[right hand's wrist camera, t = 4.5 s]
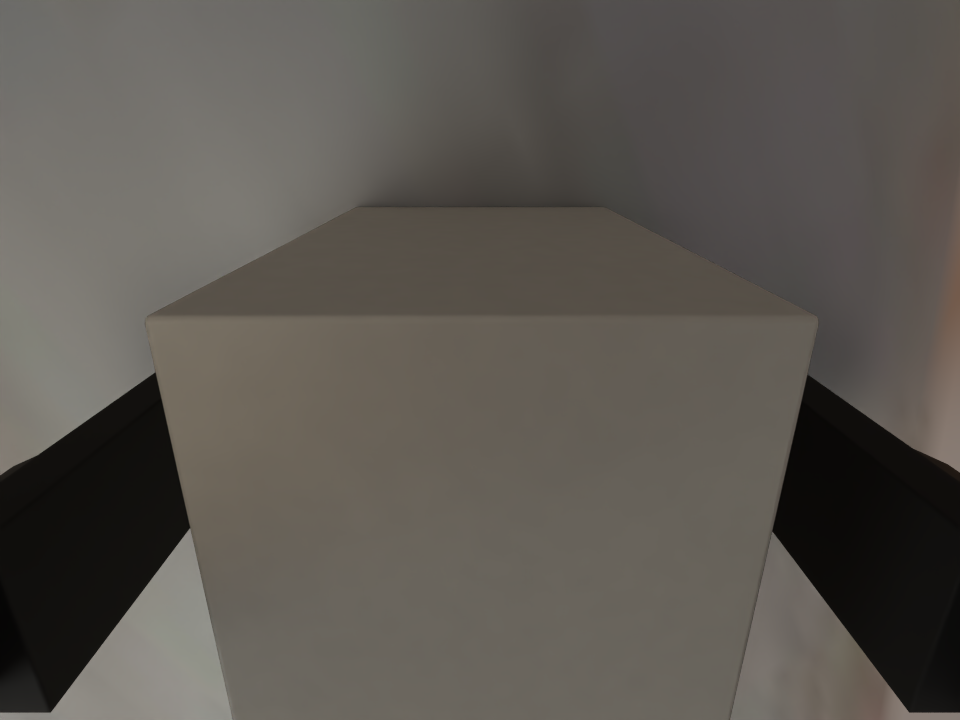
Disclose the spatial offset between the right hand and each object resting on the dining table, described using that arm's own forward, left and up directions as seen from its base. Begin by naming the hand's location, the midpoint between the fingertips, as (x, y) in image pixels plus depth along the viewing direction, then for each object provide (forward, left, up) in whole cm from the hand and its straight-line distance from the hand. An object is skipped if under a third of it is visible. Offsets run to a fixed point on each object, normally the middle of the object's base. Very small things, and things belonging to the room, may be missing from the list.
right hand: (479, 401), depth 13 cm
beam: (+15, +17, -2) cm, 23 cm away
